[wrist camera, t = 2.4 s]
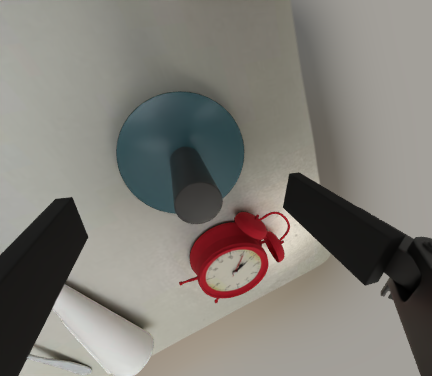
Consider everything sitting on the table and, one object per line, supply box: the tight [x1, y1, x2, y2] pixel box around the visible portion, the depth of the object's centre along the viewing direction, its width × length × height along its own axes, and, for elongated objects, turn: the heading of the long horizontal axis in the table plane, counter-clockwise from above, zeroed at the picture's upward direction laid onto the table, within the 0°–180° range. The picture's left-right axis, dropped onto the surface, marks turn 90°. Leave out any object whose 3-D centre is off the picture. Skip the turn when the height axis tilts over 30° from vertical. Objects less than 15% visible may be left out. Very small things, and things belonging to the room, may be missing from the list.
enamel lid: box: [116, 92, 244, 224], centre depth 15 cm, size 12×12×9 cm
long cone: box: [52, 284, 154, 376], centre depth 24 cm, size 6×6×19 cm
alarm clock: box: [179, 212, 290, 303], centre depth 25 cm, size 10×6×15 cm
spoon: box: [27, 354, 91, 375], centre depth 26 cm, size 4×21×2 cm, turn 18°
